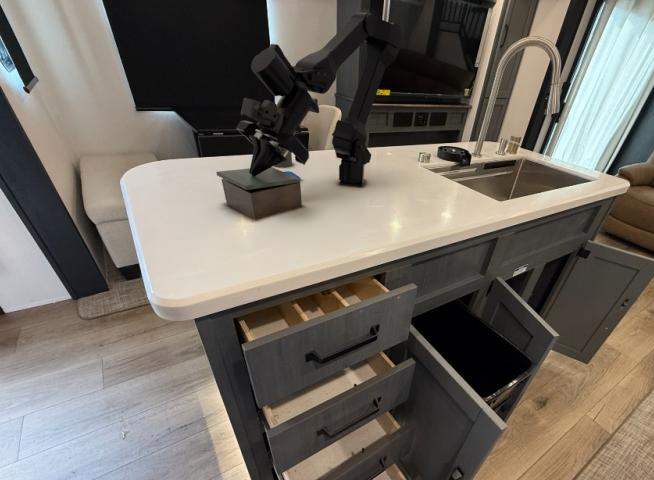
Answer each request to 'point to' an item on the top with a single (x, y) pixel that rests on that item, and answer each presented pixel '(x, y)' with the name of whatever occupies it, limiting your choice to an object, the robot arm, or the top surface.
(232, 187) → the box
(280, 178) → the lid
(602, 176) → the top surface
